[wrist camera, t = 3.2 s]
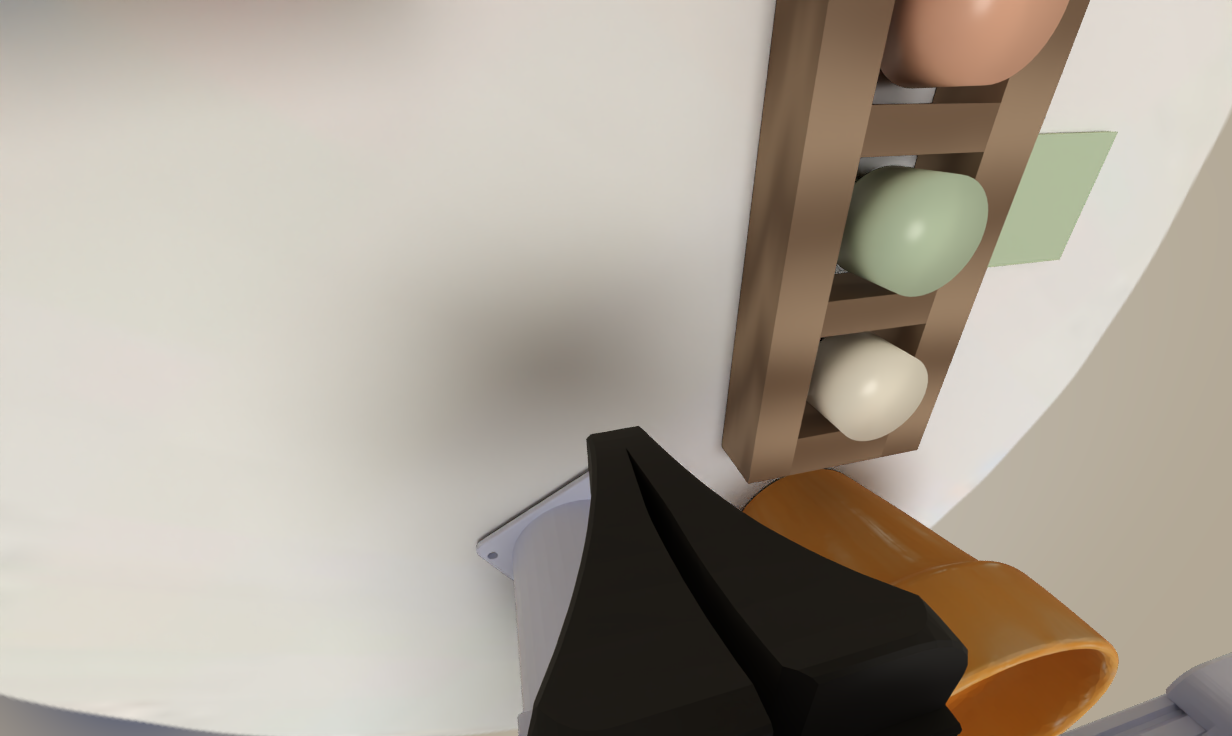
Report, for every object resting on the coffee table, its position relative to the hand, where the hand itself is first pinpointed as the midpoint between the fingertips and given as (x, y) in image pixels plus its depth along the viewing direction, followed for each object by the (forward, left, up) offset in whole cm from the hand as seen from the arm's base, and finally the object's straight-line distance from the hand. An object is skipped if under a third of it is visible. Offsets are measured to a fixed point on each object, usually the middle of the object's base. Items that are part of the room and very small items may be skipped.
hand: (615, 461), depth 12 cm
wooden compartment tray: (-4, -13, -9) cm, 17 cm away
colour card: (-9, -22, -9) cm, 25 cm away
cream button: (-10, -10, -8) cm, 16 cm away
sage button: (-4, -13, -8) cm, 16 cm away
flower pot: (-21, -4, -10) cm, 23 cm away
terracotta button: (+2, -17, -8) cm, 19 cm away
